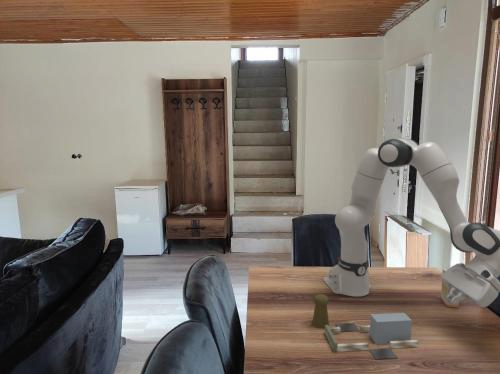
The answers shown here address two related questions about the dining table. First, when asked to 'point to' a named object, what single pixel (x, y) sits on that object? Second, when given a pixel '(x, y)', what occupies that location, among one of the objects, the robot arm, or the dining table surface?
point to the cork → (320, 311)
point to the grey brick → (390, 327)
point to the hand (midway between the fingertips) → (450, 301)
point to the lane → (377, 353)
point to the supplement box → (445, 292)
